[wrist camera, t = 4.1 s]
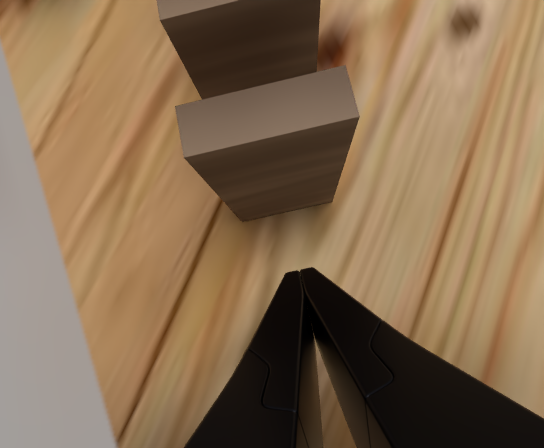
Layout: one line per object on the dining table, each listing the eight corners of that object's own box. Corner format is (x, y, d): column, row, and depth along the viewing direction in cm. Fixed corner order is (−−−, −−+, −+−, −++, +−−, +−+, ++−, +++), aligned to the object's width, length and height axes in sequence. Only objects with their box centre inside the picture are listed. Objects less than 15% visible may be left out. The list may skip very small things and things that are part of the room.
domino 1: (313, 125, 21) (321, -21, 11) (227, 146, 21) (160, 20, 11) (307, 100, 21) (309, -65, 11) (222, 120, 21) (152, -24, 12)
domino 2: (332, 201, 20) (359, 116, 10) (242, 221, 20) (183, 157, 10) (325, 173, 20) (345, 65, 10) (236, 194, 21) (175, 106, 11)
